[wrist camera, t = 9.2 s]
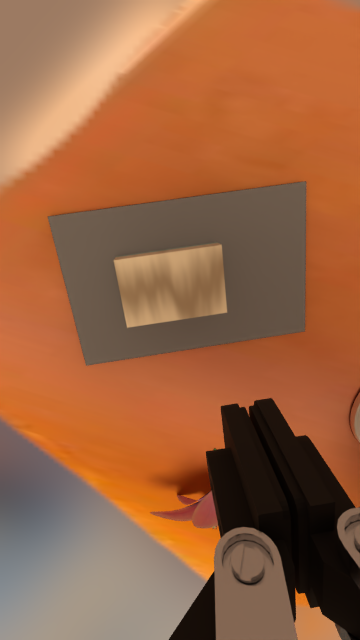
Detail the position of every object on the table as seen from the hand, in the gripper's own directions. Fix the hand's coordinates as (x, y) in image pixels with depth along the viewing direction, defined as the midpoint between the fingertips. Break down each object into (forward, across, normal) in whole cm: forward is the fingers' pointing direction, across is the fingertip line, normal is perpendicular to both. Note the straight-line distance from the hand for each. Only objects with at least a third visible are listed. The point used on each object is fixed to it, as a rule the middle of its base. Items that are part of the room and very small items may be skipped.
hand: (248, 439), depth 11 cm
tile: (+20, -3, -1) cm, 20 cm away
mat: (+21, 0, -1) cm, 21 cm away
